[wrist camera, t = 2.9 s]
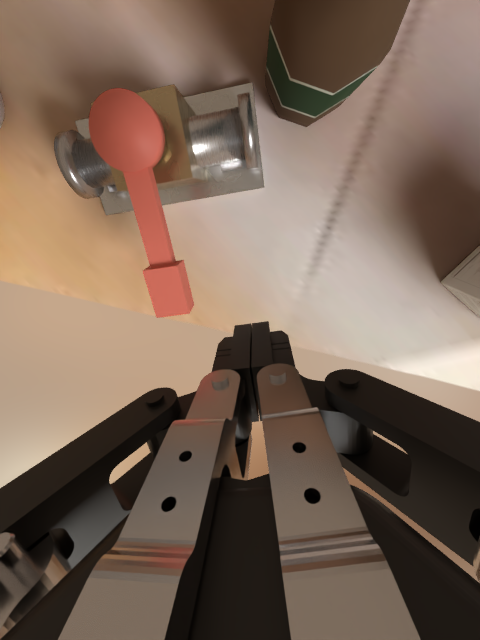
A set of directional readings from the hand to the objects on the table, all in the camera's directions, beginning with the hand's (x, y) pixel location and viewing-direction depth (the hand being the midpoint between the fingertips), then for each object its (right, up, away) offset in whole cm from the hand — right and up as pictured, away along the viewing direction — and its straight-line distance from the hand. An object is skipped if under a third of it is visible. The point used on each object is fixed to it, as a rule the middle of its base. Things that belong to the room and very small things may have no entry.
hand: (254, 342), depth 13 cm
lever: (-7, +9, +9) cm, 15 cm away
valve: (-8, +18, +17) cm, 26 cm away
